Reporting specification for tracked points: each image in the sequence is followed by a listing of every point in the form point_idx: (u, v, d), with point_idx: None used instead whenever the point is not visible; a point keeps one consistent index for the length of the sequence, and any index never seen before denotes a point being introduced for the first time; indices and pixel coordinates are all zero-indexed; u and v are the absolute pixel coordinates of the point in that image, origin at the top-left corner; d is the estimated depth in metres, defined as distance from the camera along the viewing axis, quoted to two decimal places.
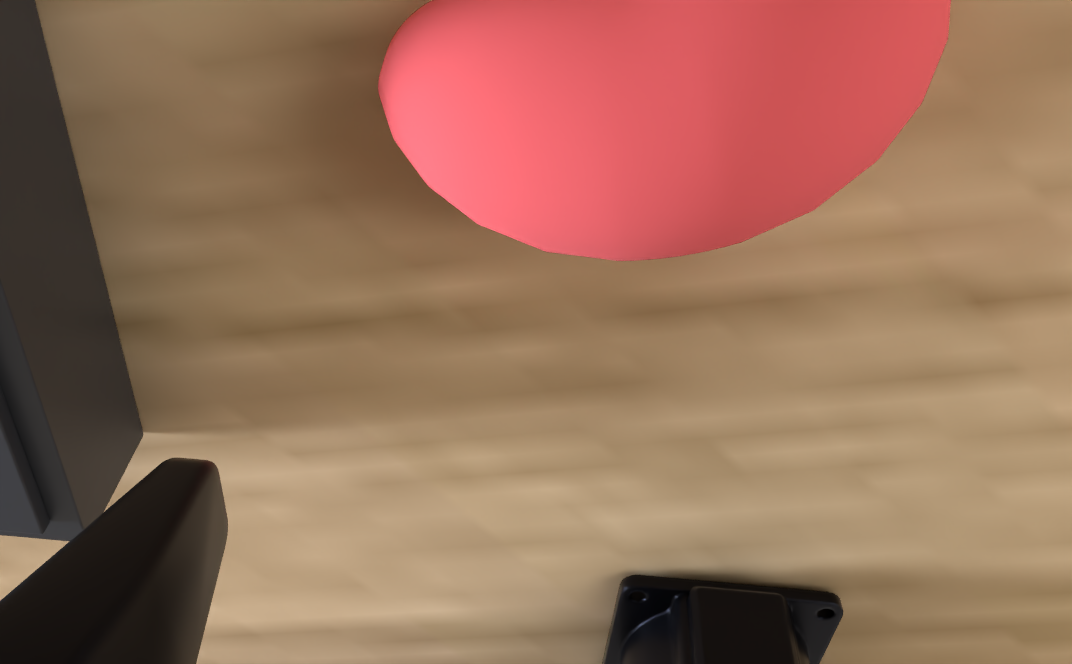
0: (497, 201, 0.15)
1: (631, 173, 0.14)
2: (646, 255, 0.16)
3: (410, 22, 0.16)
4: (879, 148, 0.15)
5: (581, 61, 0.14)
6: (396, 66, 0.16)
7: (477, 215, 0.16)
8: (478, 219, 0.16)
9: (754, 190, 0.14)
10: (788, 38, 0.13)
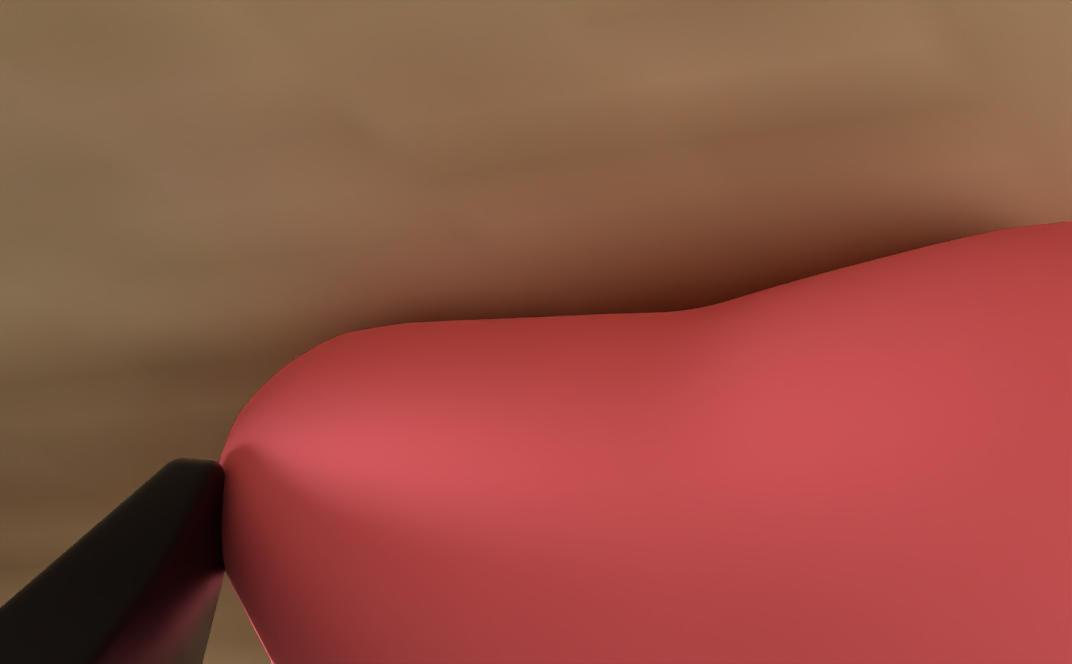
0: None
1: None
2: None
3: (258, 415, 0.08)
4: None
5: (572, 606, 0.07)
6: (229, 499, 0.08)
7: None
8: None
9: None
10: (1025, 600, 0.06)
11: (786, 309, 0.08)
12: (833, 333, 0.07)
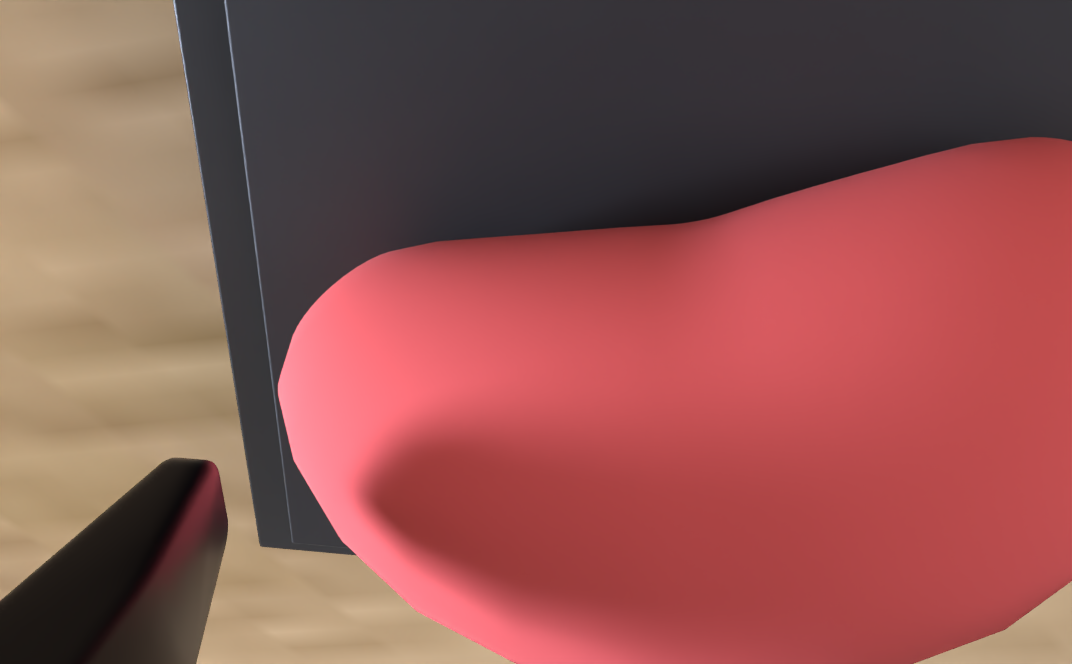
0: (461, 625, 0.09)
1: (691, 636, 0.08)
2: None
3: (321, 316, 0.10)
4: None
5: (601, 451, 0.08)
6: (298, 389, 0.10)
7: (433, 619, 0.10)
8: None
9: (901, 653, 0.08)
10: (977, 432, 0.07)
11: (779, 212, 0.09)
12: (819, 226, 0.08)
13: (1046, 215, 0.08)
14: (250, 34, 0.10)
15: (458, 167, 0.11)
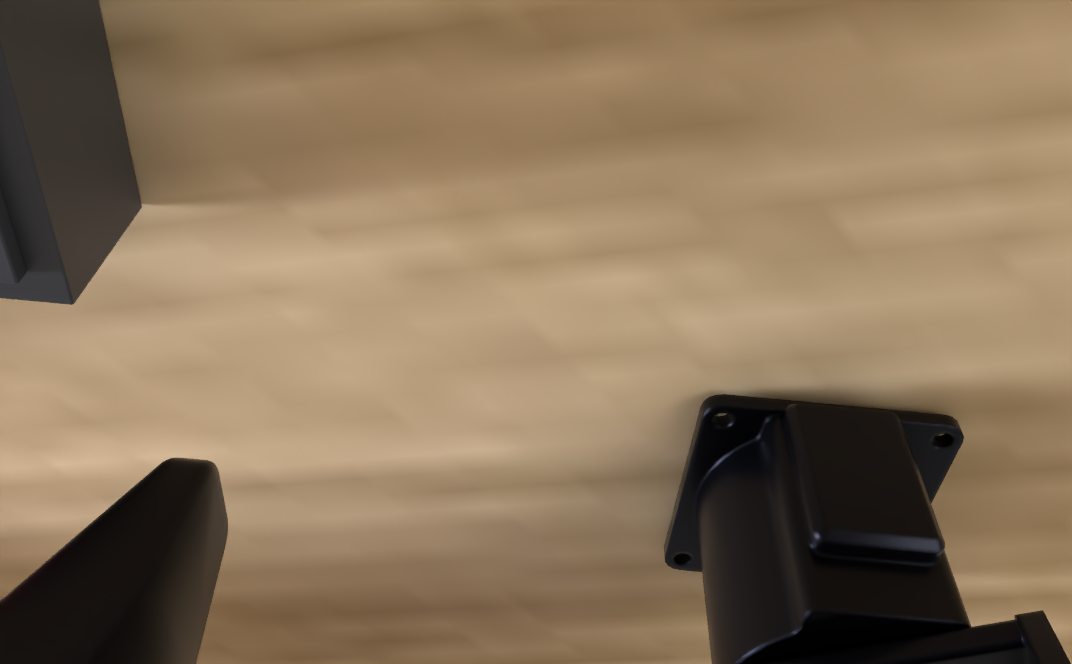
0: None
1: None
2: None
3: None
4: None
5: None
6: None
7: None
8: None
9: None
10: None
11: None
12: None
13: None
14: None
15: None
